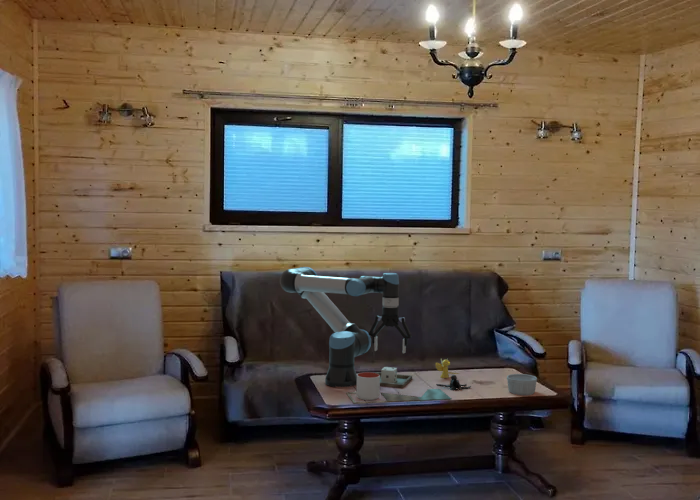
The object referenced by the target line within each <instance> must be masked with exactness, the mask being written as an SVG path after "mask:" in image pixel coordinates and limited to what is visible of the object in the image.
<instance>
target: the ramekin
mask: <svg viewBox="0 0 700 500" xmlns="http://www.w3.org/2000/svg"><path fill="white" fill-rule="evenodd" d="M506 380H507V389H508V391H509V393H511V394H513V395H516V394H517V395H516V396H530V395H533V394H534V393H535V392H536V387H537V382H538V378H537V377H536V376H535V375H531V374H526V373H525V374H524V373H512V374H508V375H507V376H506Z"/></svg>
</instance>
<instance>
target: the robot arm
mask: <svg viewBox="0 0 700 500" xmlns="http://www.w3.org/2000/svg"><path fill="white" fill-rule="evenodd" d="M279 284H280V287H281V289H282V290H283V291H284V292H286V293H292V294H293V293H297V295H299V296H300V298H301V299H306V300H307V301H308V302H309V303H310V305H311V306H312V307H313V308H314V310H315V311H316V312H317V313H318V314H319V315H320V317H321V318H322V319H323V320H324V321H325V322H326V324H328V326H329V327H330V328H331V330H332V331H333V332H332V334H331V335H330V336H329V341H328V347H329V348H328V349H329V350H328V352H329V354H328V359H329V361H328V363H329V364H328V365H329V366H328V368H327V369H328V370H327V372H326V375H325V378H324V379H325V380H324V383H325V384H324V385H326V386H329V387H332V388H347V387H348V388H349V387H354V386H357V372H356V371H357V370H356V369H355V358H356V357H359V356H362V355H364V354H365V353H367V352H369V350H370V348H371V345H372V344H374V345H373V349H374V352H376V351H378V346H379V345H378V340H379V339H378V338H379V337H378V336H377V335H378V334H379V333H380V332H381V330H383V329H384V327H385V326H386V327H391V328H393V327H394V328H396V329H397V331H398V332H399V333H400V334H401V336H402V338H403V339H402V354H405V353H406V350H407V349H406V348H407V346H408V345H409V344H408V343H409V339H411V338H412V332H411V331H410V328H409V326H408V324H407V322H406V317H405V316H403V317H400V316H399V312H400V311H399V301H400V298H399V297H400V296H399V293H400V292H399V291H400V279H399V274H398V273H396V272H383V274H382V276H373V275H372V276H371V275H361V276H360V277H359V278H354V277H351V278H350V277H341V276H340V277H337V276H325V275H324V276H323V275H318V273H317V272H316V271H315V270H314V269H313V268H312V267H309V266H300V267H297V268H296V267H295V268H289V269H286V270H285V271H283V272H282V273H281V275H280V277H279ZM328 293H329V294H341V295H349V296H352V297H359V296H360V297H361V296H362V295H367V294H371V293H377V294H382V303H381V304H382V308H381V309H382V310H381V315H382V316H380V315H376V316H375V318H374V322H373V323H372V326H371V328H370V330H369V332H368V331H367V330H365V329H361V328H359V326H358V325H357V324H356V323H352V322H351V321H349V320H348V319H347V318H346V316H345V315H344V314H343V312H341V310H340V309H339V307H337V306H336V304H334V302H333V301H332V300H331V299H330V298H329V297H328V295H327V294H328ZM380 321H382V323H381V324H380V326H379V327H378V328H377V326H378V324H379V322H380ZM399 321H400V323H401V325H402V326H403V328H402V327H401V325H400V324H399ZM376 328H377V329H376ZM403 329H404V330H403ZM371 337H372V338H371Z"/></svg>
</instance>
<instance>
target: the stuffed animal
mask: <svg viewBox="0 0 700 500" xmlns="http://www.w3.org/2000/svg"><path fill="white" fill-rule="evenodd" d="M459 380H460V379H459ZM459 380H458V378H457V374H451V376H450V382H449V384H441V383H436V386H437V387H443V386H445V387H444V388H448V387H450V388H449V389H450V390H449V389H448V390H449V391H454V390H455V391H459V390H462V391H463V390H468V388H469V389H471V387H472V385H469V386H467V385H468V384H467V383H464V384H460V381H459ZM461 386H464V387H461ZM456 388H458V389H459V390H458V389H456Z"/></svg>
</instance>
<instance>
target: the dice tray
mask: <svg viewBox="0 0 700 500" xmlns="http://www.w3.org/2000/svg"><path fill="white" fill-rule="evenodd" d="M375 373H377V374H379V375H380V387H387V388H395V389H396V388H399V389H404V387H406V386H407V385H408V384H409V383H410V382H411V381H412V380H413V375H411V374H410V375H409V374H398V373H397V381H396V382H395V383H385V382H381V372H377V371H376V372H375Z"/></svg>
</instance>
